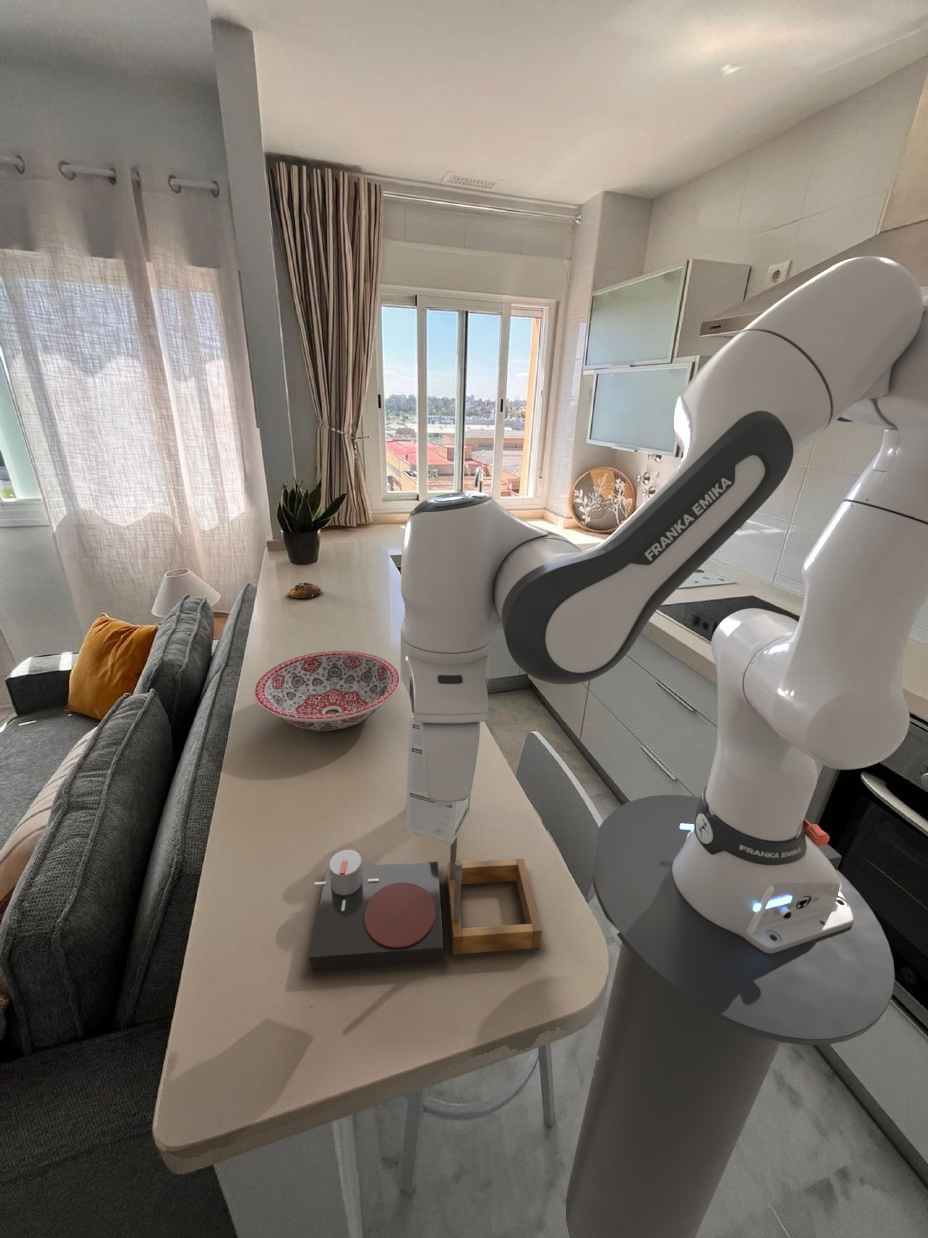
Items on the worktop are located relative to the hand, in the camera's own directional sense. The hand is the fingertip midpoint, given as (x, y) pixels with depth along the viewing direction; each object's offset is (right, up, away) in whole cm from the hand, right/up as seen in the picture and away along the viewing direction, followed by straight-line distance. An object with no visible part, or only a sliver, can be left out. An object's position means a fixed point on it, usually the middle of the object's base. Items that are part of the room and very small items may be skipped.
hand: (440, 774), depth 54 cm
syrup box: (-1, -6, +2) cm, 7 cm away
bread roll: (-54, +26, +122) cm, 136 cm away
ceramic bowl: (-26, -3, +52) cm, 58 cm away
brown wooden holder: (+6, -21, +10) cm, 24 cm away
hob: (-8, -21, +8) cm, 24 cm away
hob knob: (-13, -17, +10) cm, 24 cm away
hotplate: (-5, -19, +6) cm, 21 cm away
